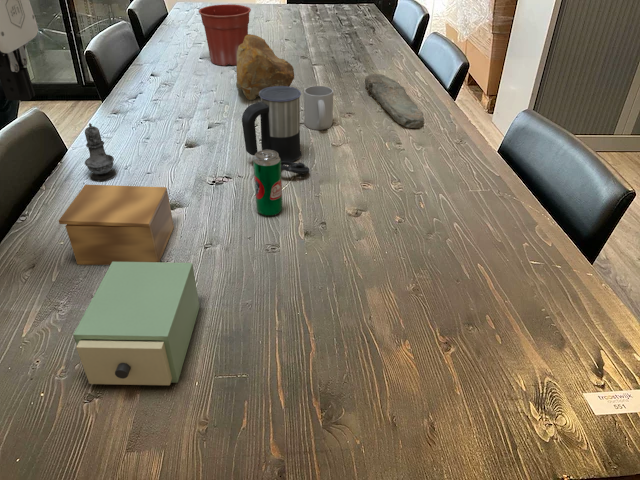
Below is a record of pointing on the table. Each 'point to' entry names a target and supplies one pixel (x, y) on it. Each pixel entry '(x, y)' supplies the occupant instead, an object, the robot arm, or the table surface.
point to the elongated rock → (394, 100)
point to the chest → (122, 240)
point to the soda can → (268, 182)
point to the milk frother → (276, 126)
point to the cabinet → (145, 307)
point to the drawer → (125, 362)
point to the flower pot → (225, 31)
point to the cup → (318, 107)
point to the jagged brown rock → (260, 67)
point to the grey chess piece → (98, 156)
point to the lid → (114, 206)
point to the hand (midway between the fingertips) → (21, 98)
